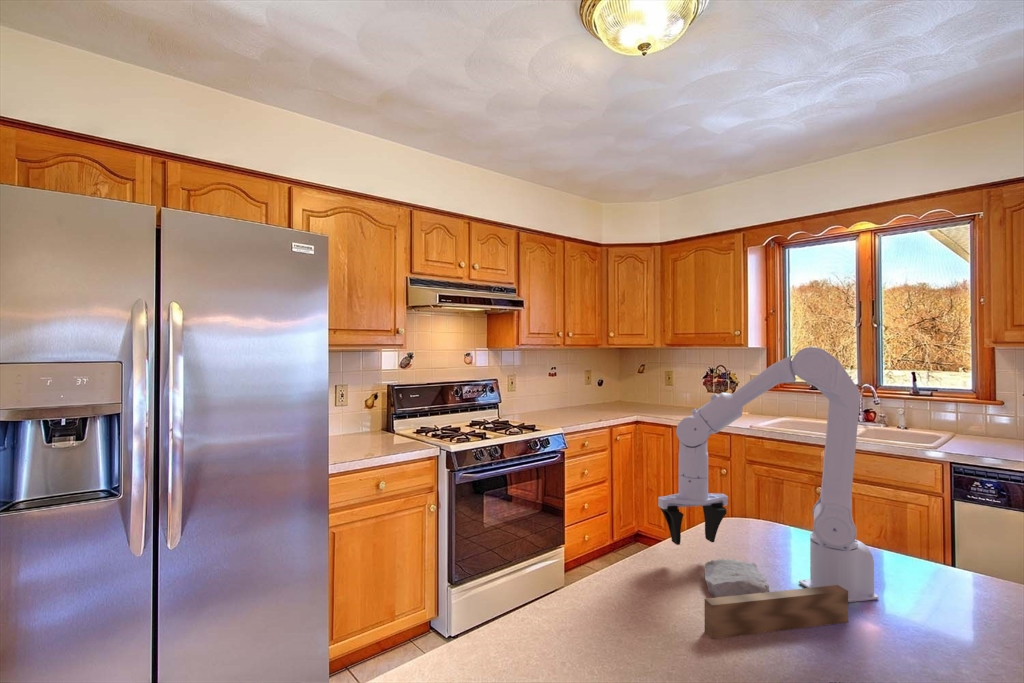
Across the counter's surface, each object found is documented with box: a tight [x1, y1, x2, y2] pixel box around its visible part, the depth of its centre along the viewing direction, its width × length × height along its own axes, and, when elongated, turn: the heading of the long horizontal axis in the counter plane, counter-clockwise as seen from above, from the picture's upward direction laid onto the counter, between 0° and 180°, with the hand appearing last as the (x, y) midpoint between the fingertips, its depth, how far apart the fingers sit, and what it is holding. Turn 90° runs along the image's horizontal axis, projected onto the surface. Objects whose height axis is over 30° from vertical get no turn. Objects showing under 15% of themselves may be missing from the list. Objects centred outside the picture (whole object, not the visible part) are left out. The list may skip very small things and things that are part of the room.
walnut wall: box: [704, 585, 849, 640], centre depth 78 cm, size 24×2×5 cm, turn 101°
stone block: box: [704, 558, 771, 598], centre depth 90 cm, size 12×5×10 cm
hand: (693, 541), depth 102 cm, fingers open, 7 cm apart
